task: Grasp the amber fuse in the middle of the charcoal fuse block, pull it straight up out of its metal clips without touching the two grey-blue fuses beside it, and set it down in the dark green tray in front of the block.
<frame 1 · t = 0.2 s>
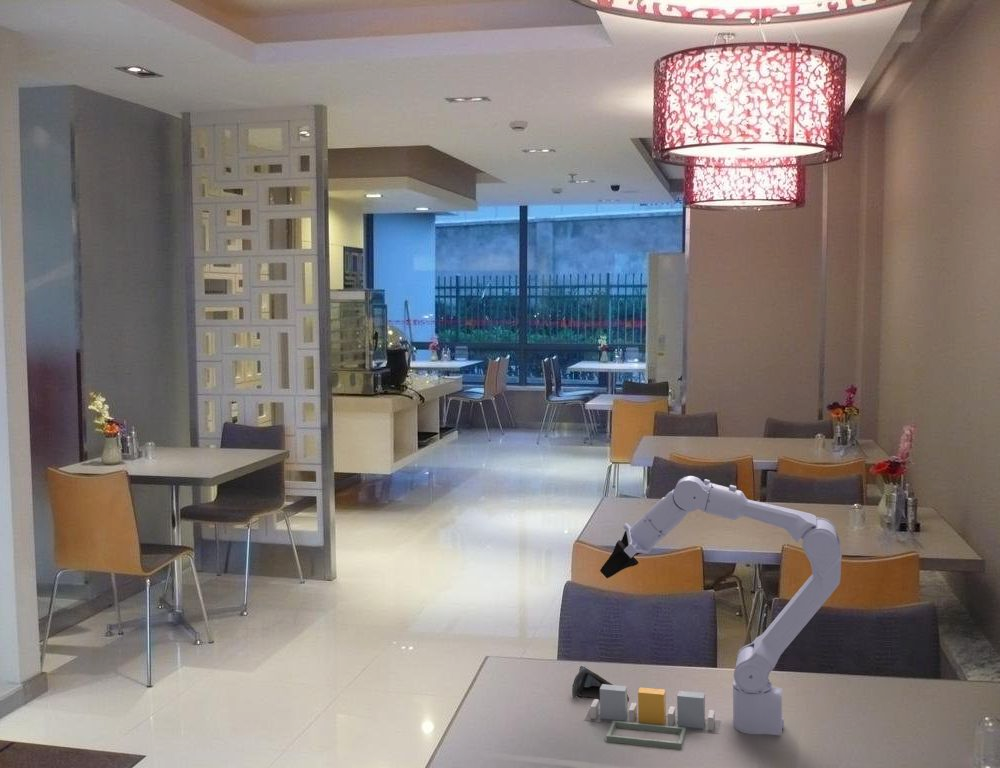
hand: (607, 569, 201), 30 cm above the table, tool tilted 45°, fingers open, 7 cm apart
fuse block: (652, 725, 200), on the table
amber fuse: (652, 720, 199), point 1 cm above the table, touching fuse block
fuse 2: (691, 724, 197), point 1 cm above the table, touching fuse block
fuse 1: (613, 716, 202), point 1 cm above the table, touching fuse block
chocolate cake: (603, 699, 214), on the table
tray: (646, 742, 192), on the table
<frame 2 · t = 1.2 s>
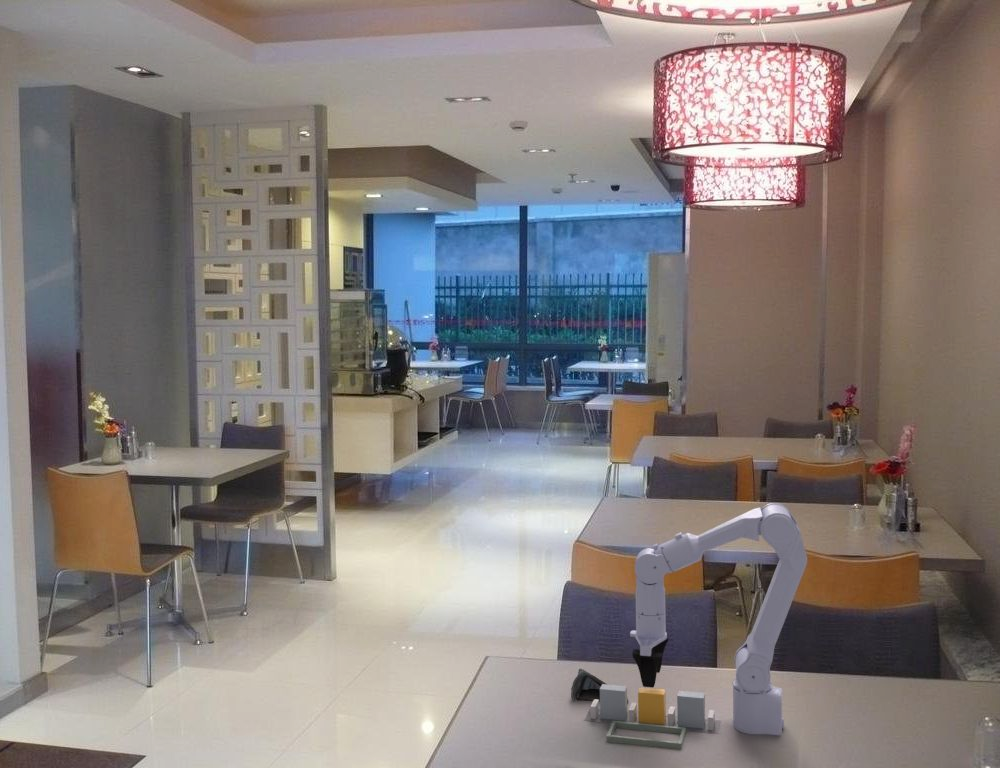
hand: (651, 679, 199), 9 cm above the table, tool pointing down, fingers open, 7 cm apart
chocolate cake: (602, 702, 213), on the table
everything else where it was.
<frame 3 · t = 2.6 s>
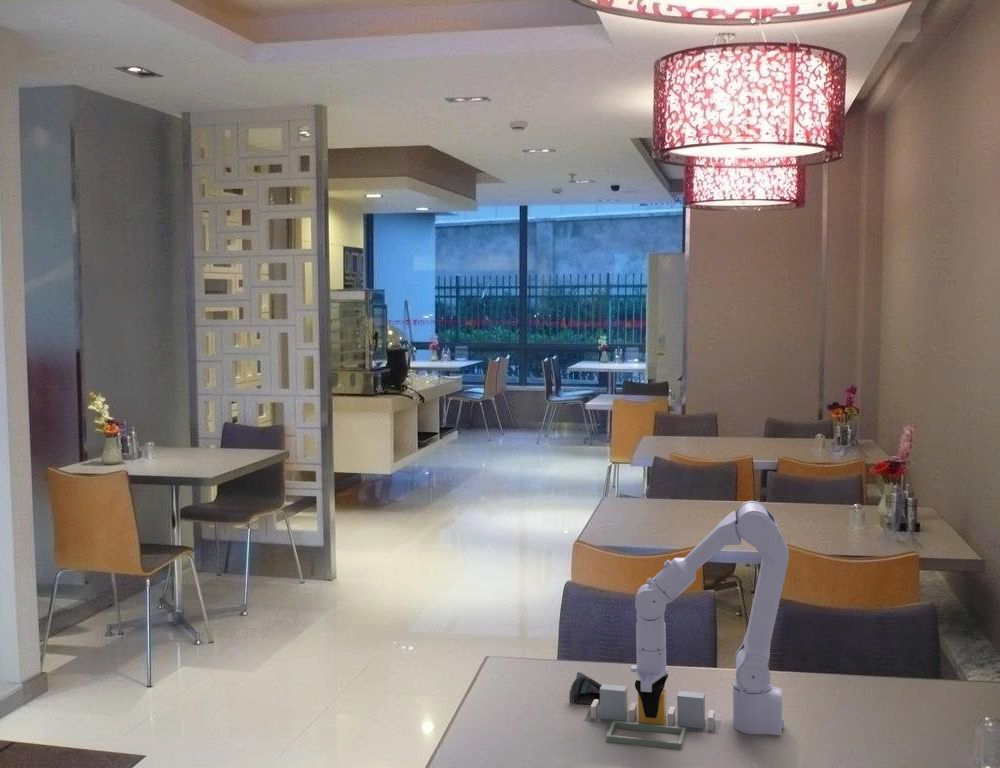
hand: (652, 713, 199), 2 cm above the table, tool pointing down, fingers closed on amber fuse, 3 cm apart
amber fuse: (652, 720, 199), point 1 cm above the table, touching fuse block, gripper
chocolate cake: (600, 706, 211), on the table
everything else where it was.
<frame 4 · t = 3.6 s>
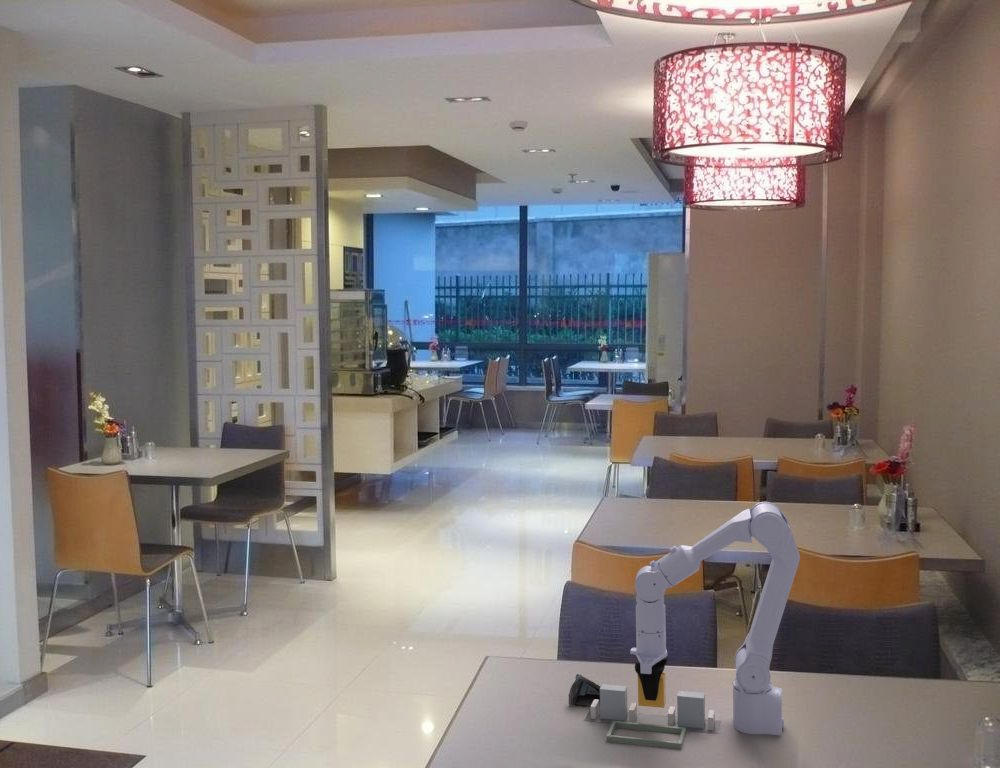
hand: (652, 696, 199), 6 cm above the table, tool pointing down, fingers closed on amber fuse, 3 cm apart
amber fuse: (652, 704, 199), point 4 cm above the table, touching gripper
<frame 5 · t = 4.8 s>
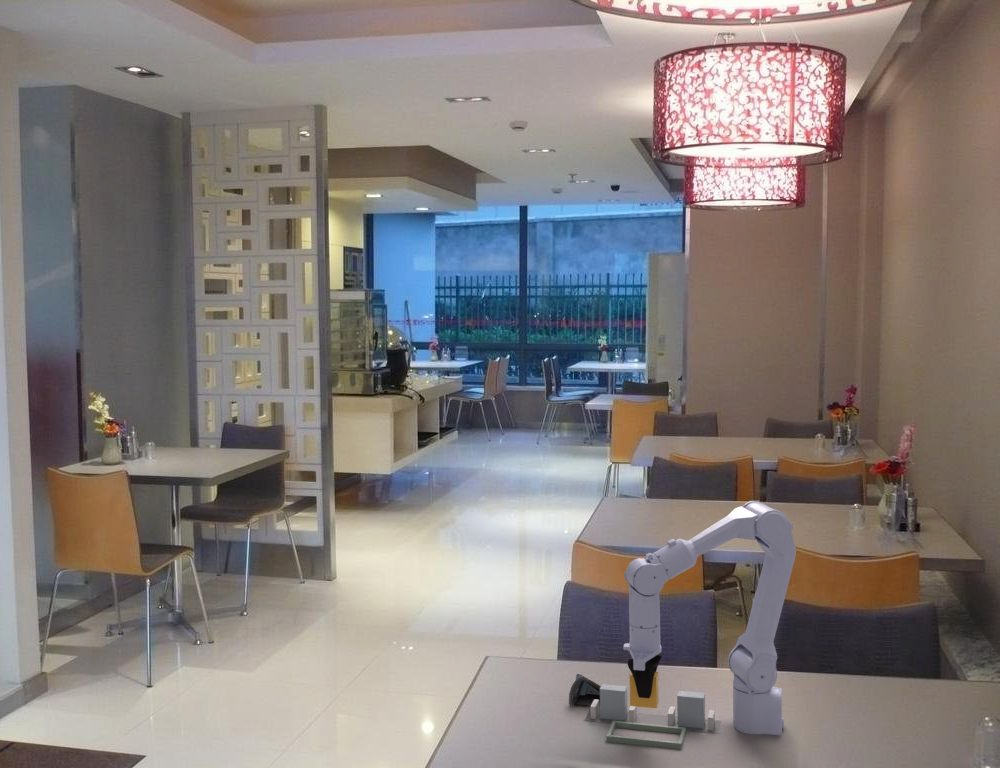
hand: (645, 693, 192), 9 cm above the table, tool pointing down, fingers closed on amber fuse, 3 cm apart
amber fuse: (644, 704, 192), point 7 cm above the table, touching gripper
everything else where it was.
when the fingers open (3 cm above the table, at t = 6.6 s): amber fuse stays where it is, resting on tray.
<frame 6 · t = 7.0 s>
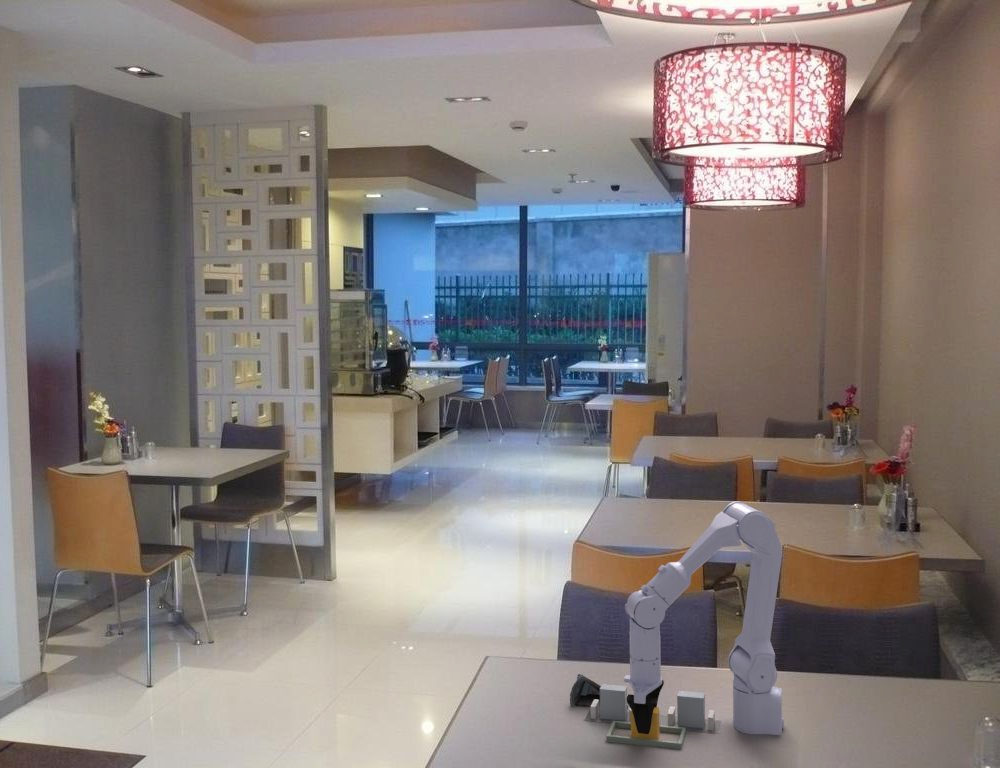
hand: (646, 725, 192), 3 cm above the table, tool pointing down, fingers open, 6 cm apart
amber fuse: (645, 739, 192), resting on tray
everything else where it was.
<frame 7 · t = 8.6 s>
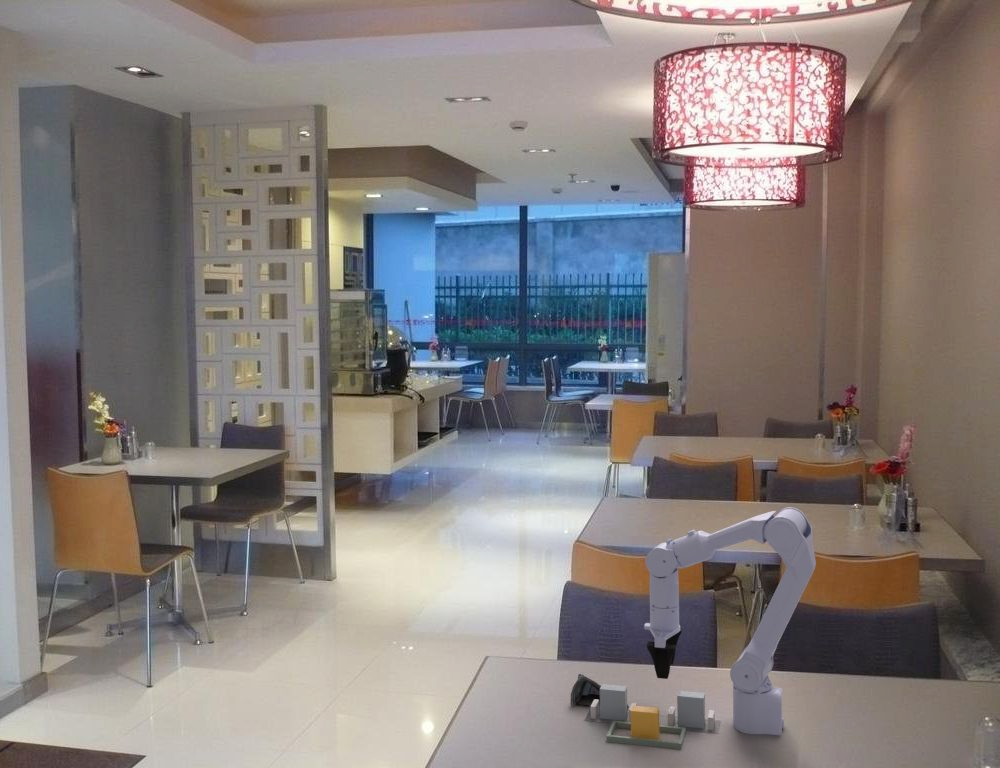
hand: (665, 670, 203), 9 cm above the table, tool pointing down, fingers open, 7 cm apart
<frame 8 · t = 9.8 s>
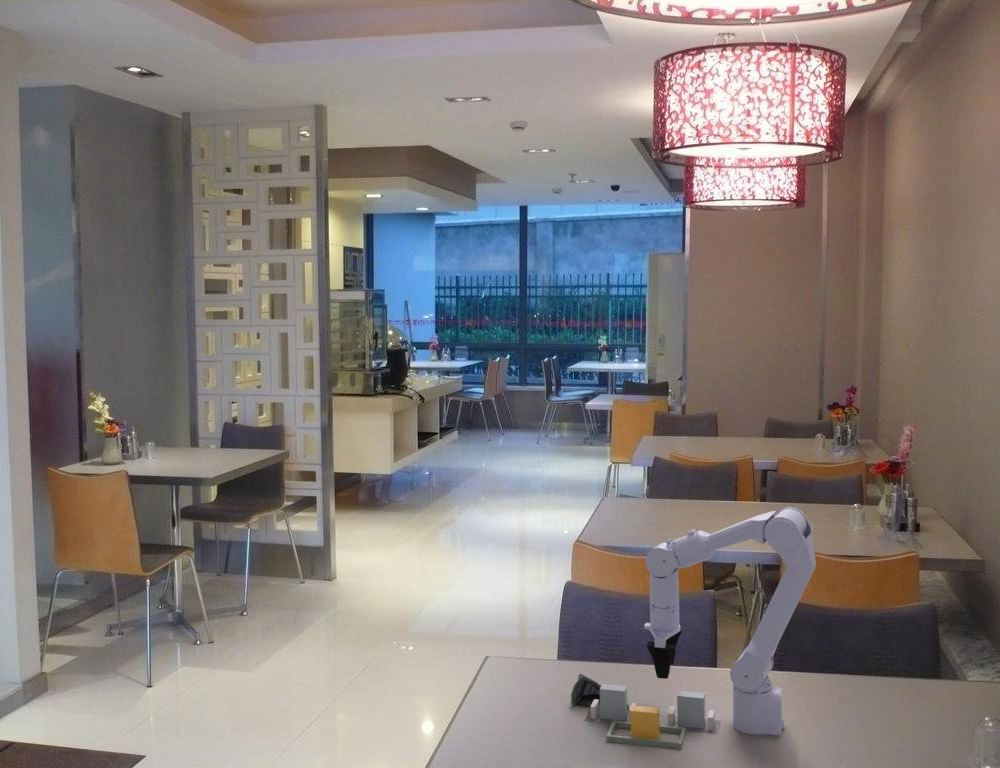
hand: (665, 670, 203), 9 cm above the table, tool pointing down, fingers open, 7 cm apart
at the end: amber fuse inside the target area on the tray (0.2 cm from its centre), point 0.4 cm above the tray's base; fuse 2 moved 0.0 cm from its start; fuse 1 moved 0.0 cm from its start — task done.
